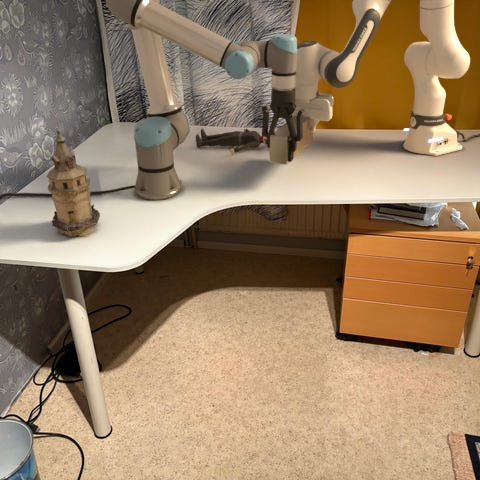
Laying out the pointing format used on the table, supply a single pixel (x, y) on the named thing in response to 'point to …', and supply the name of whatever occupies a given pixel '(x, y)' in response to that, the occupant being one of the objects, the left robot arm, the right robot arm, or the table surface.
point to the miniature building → (70, 193)
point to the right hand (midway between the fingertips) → (302, 130)
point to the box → (282, 139)
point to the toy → (232, 140)
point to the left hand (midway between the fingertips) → (281, 158)
